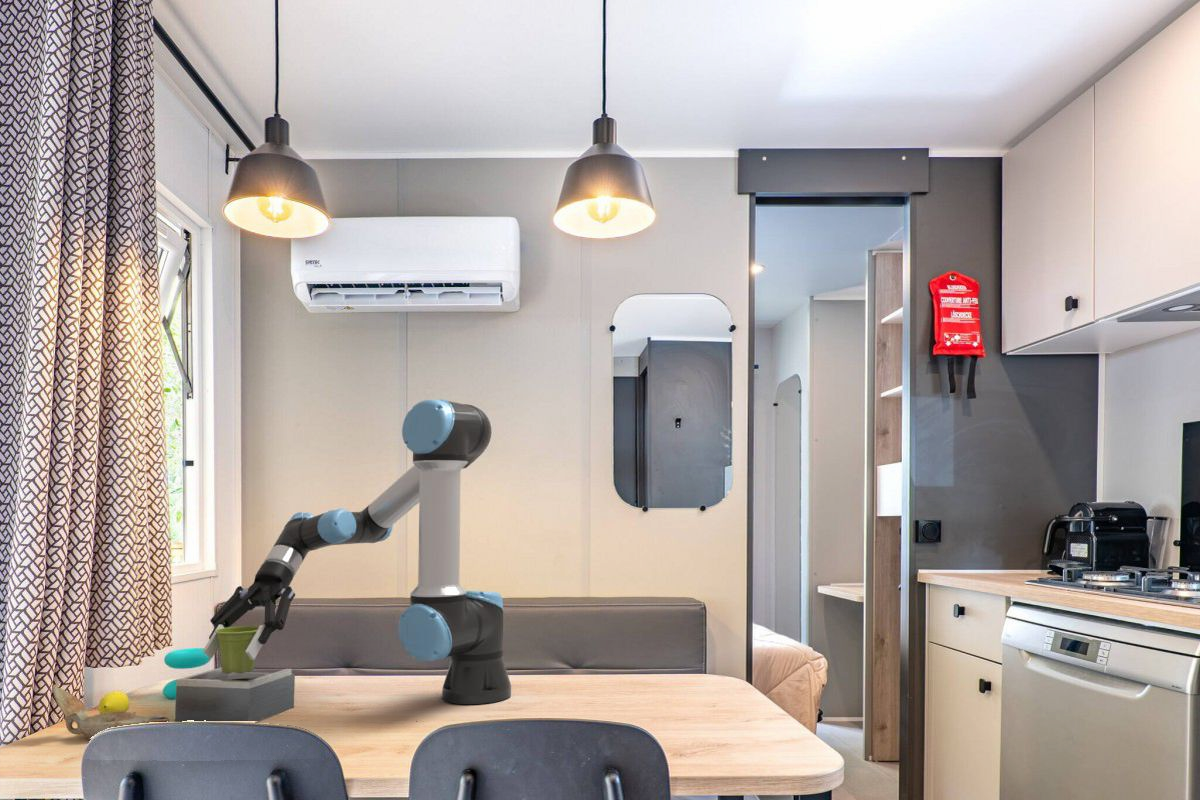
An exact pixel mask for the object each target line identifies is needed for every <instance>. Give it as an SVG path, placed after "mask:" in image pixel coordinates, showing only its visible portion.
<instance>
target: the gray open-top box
mask: <svg viewBox="0 0 1200 800" xmlns="http://www.w3.org/2000/svg"><path fill="white" fill-rule="evenodd" d="M292 670H293V669H292V668H284V669H281V670H279V671H275V672H265V671H264V672H261V671H258V672H257V671H250V672H245V673H235V672H232V673H230V674H226V673H223V672H222V668H221V666H220V667H218V668H214V669H211V670H206V671H202V672H200V673H195V674H192V675H188V676H185V677H182V678H181V679H180V678H176V679H177V685H176V699H175V710H174V712H175V713H174V722H175V721H187V720H194V721H204V720H206V721H258V722H260V721H263V720H265V719H268V718H271V717H273V716H276V715H278V714H281V713H284V712H286V711H288V710H292V709H294V708H295V686H296V685H295V682H296V680H295V679H296V678H295V677H296V675H295V674H296V673H293V672H292ZM262 719H263V720H262Z"/></svg>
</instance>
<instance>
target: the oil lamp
mask: <svg viewBox="0 0 1200 800" xmlns="http://www.w3.org/2000/svg"><path fill="white" fill-rule="evenodd" d="M52 693H53V696H54V700H55V701H56V704H57V706H58V707H59V709H60V710H61V712H62V713H63V714H64V719H65V727H66V729H67V731H68V732H69V733H70V734H73V735H80V736H83V737H84V738H86V739H88V738H89V740H90V738H91V737H92V736H94V735H95V734H97V733H98V732H100V731H103V730H105V729H107V728H111V727H117V726H123V725H131V724H139V723H149V722H167V721H169V722H170V719H171V717H170V716H166V715H149V716H141V715H138V714H137V712H136V711H135V712H130V711H126V712H123V711H121V712H110V713H103V714H100V713H99V714H94V715H90V716H88V715H87V714H86V713H85V712H84V709H86V705H85V704H84V702H83V701H81V700H80V699H79V698H77V696H75V695H73V694H71V693H70V692H68V691H67V690H64V689H63V688H60V687H58V685H57V684H53V686H52ZM73 723H76V725H77V726H76V727H73Z"/></svg>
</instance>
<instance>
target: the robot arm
mask: <svg viewBox="0 0 1200 800" xmlns="http://www.w3.org/2000/svg"><path fill="white" fill-rule="evenodd" d="M401 435H402V440H403V443H404V444H405V445H406V447H407V449H408V450H409V451H411V452H412V464H413V466H411V467H410V468H409V469H408V470H407V471H406V472H405V473H404V474H402V475H401V476H400V477H399V478H398V479H396V481H394V482H393V483H392V484H391V485H390V486H389V487H388V488H387V489H385V490H384V491H383V492H382V493H381V494H380V495H379V496H378V497H377V498H375V499H374V500H373V501H372V502H370V504H369V505H367V506H366V507H365V508H364V509H362V510H361V511H349V510H347V509H346V508H337V509H331V510H328V511H326V512H323V513H320V514H318V515H314V514H312V513H309V512H303V511H300V512H296V513H294V514H293V515H292V516H291V517H290V519H289V520H288V521H287V522H286V524H285V525H284V528H283V529H282V531H281V533H280V534H279V536H278V537H277V539H276V541H275V543H274V545H273V547H272V548H271V550H270V551H269V553H268V554H267V556H266V558H265V559H264V561H263V562H262V564H261V565H260V568H259V569H258V570H257V572H256V574H255V575H254V576H255V577H254V582H253V583H252V584H251V585H250V586H248V588H244V587H243V586H241V585H239V586H237V587H236V588H235V590H234V592H233V594H232V595H231V596H230V598H229V599H227V601H226V602H225V603H223V605H222V606H221V607H220V609H218V610H217V612H216V613H215V614H214V615H213V616H212V617H211V619H210V621H209V622H210V623H211V624H212V625H213V627H214V629H213V630H212V632H210V634H209V636H208V641H207V643H206V645H205V646H204V649H203V651H204V653H205V654H206V655H207V657H208V658H211V659H213V658H214V656H215V655H216V652H217V651H218V650H219V649H220V647H219V640H218V638H217V633H215V630H217V629H221V628H227V627H232V625H233V624H235V623H236V622H237V621H239V619H241V618H242V617H243V616H244V615H245V614H246V613H248V612H249V611H253V609H255V608H256V607H261V606H262V607H263V608H264V621H263V622H262V623H263V624H264V625H265V626H264V625H262V624H260V625H259V628H258V630H257V632H256V634H255V635H254V637H253V639H252V641H251V642H250V644H249V646H248V648H247V649H246V651H245V652H246V654H247V655H248V656H249V658H250V659H251V660H254V659H255V657H256V658H257V655H258V653H259V652H260V650H261V648H262V646H263V645H265V644H266V643H267V642H268V640H269V638H270V637H271V635H272V633H274V632H275V631H276V630H278V631H282V630H283V629H285V625H286V620H287V618H288V614H289V610H290V607H291V603H292V601H293V600H294V598H295V597H296V593H295V591H294V590H293V589H292V586H290V585H291V583H292V581H293V580H294V577H295V575H296V574H297V572H298V571H299V569H300V567H301V565H302V563H304V560H305V558H306V557H307V555H308V553H309V552H312V551H316V550H319V549H322V548H326V547H330V546H338V545H339V546H340V545H341V546H342V545H354V544H375V543H378V542H383V541H385V540H387V539H388V538H389V537H390V536H391V533H392V531H393V527H394V526H393V525H395V524H396V523H397V522H398V521H400V520H401V519H402V518H403V517H404V516H405V515H406V514H407V513H408V512H410V511H411V510H412V509H414V507H416V506H417V505H419V507H418V508H419V511H418V514H419V515H418V561H417V562H418V565H417V567H418V569H417V585H416V587H414V589H412V591H411V592H410V597H409V598H410V599H409V600H410V601H409V604H410V605H409V607H407V608H406V609H405V610H403V613H402V614H401V615H400V617H399V620H398V626H397V631H398V637H399V640H400V642H401V645H402V647H403V649H404V650H406V651H407V653H408V654H409V655H410V656H411V657H412V658H413V659H415V660H418V661H422V662H429V661H430V662H432V661H441V660H444V659H446V658H447V657H448V658H449V657H450V662H449V665H448V670H447V673H446V676H445V678H444V682H443V685H442V688H441V689H442V690H441V692H442V695H441V699H442V700H443V701H444V702H446V703H450V704H457V705H480V704H481V705H482V704H488V703H489V704H490V703H496V702H500V701H504V700H506V699H509V698H510V697H511V696H512V684H511V681H510V676H509V674H508V672H507V671H508V670H507V667H506V665H505V662H504V611H505V610H504V603H503V596H502V594H501V593H500V592H497V591H481V590H465V588H463V587H462V585H461V584H460V558H461V555H460V553H461V552H460V551H461V549H460V546H461V545H460V543H461V539H460V538H461V471H462V470H463V469H467V468H469V466H471V465H472V464H473V463H474V462H476V461H477V459H479V457H480V456H482V454H483V453H484V452H485V451H486V449H487V447H488V446H489V444H490V442H491V439H492V425H491V421H490V419H489V417H488V415H487V413H485V412H484V411H483V410H482V409H481V408H479V407H477V406H475V405H472V404H466V403H465V404H464V403H459V402H455V401H449V400H445V399H438V398H437V399H424V400H421V401H420V402H419V401H418V402H417V403H416V404H414V405H413V407H411V409H410V410H409V411H408V412H407V413H406V415H405V418H404V420H403V422H402V429H401ZM277 600H279V602H278V604H277ZM255 660H256V659H255Z"/></svg>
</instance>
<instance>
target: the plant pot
mask: <svg viewBox="0 0 1200 800" xmlns="http://www.w3.org/2000/svg"><path fill="white" fill-rule="evenodd" d="M259 627H260V625H243V626H242V625H241V626H240V625H239V626H230V627H227V628H221V629H217V630H215V633H217V638H218V640H219V653H220V665H221V666H220V667H221V668H222V672H223V673H226V674H230V673H232V672H235V673H245V672H253V670H254V669H255V666H256V665H255V663H256V658H257V656H256V657H255V659H254V660H251V659H250V658H249V656H248V655H247V654H246V652H245V651H246V649H247V648H248V646H249V644H250V642H251V641H252V639H253V637H254V635H255V634H256V632H257V630H258V628H259Z"/></svg>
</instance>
